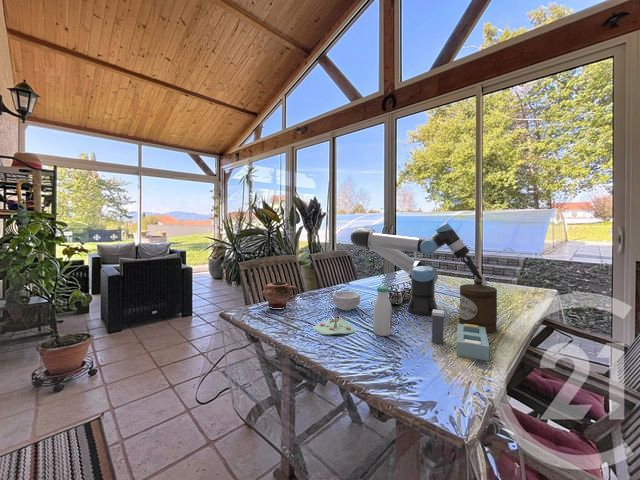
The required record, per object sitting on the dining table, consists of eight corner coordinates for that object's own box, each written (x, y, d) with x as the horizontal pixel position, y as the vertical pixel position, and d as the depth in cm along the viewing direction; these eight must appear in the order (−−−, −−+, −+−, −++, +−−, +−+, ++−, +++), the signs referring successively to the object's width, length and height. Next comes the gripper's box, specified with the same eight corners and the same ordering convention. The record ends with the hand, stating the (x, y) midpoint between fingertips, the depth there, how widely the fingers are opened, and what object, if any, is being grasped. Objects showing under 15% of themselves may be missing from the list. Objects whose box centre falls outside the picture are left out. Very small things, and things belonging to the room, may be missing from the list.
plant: (315, 317, 146) (314, 300, 145) (355, 317, 145) (355, 300, 145) (311, 337, 121) (311, 316, 121) (360, 337, 120) (360, 316, 120)
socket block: (456, 355, 103) (456, 340, 102) (457, 335, 120) (457, 322, 120) (488, 361, 98) (489, 345, 98) (484, 339, 116) (485, 326, 116)
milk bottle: (388, 338, 118) (388, 290, 117) (370, 334, 122) (370, 288, 121) (394, 331, 125) (394, 286, 123) (377, 328, 129) (377, 284, 127)
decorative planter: (296, 303, 170) (295, 280, 169) (300, 309, 158) (299, 284, 157) (261, 306, 165) (261, 282, 164) (263, 312, 153) (262, 286, 152)
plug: (431, 342, 114) (432, 312, 113) (432, 338, 117) (432, 309, 117) (442, 344, 112) (443, 313, 111) (443, 340, 116) (444, 310, 115)
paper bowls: (361, 312, 152) (361, 297, 151) (333, 312, 152) (332, 297, 152) (358, 304, 167) (358, 290, 166) (332, 304, 167) (332, 290, 167)
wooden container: (453, 321, 137) (454, 275, 136) (485, 321, 137) (486, 275, 135) (468, 333, 122) (469, 282, 121) (503, 333, 122) (505, 282, 120)
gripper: (465, 246, 142) (493, 283, 137) (464, 243, 164) (489, 275, 160) (451, 255, 145) (479, 291, 140) (453, 250, 167) (476, 281, 163)
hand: (484, 282), depth 150 cm, fingers open, 13 cm apart
